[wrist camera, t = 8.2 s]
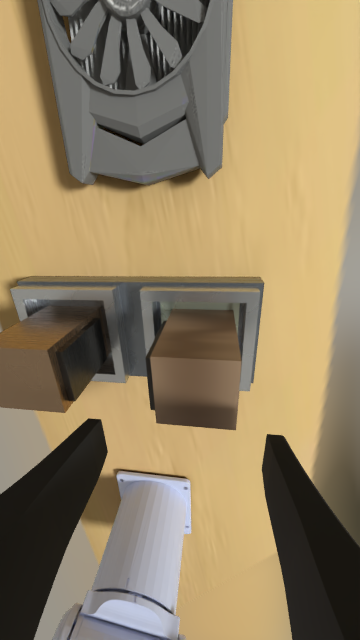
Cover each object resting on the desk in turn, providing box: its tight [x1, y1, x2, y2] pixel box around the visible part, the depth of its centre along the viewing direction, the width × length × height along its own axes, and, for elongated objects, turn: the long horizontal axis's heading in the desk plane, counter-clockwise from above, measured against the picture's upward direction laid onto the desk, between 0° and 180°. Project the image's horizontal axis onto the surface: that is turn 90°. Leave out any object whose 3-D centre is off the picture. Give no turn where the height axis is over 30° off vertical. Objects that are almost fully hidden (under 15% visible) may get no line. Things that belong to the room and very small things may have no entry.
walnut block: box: [145, 309, 242, 430], centre depth 14 cm, size 4×4×6 cm
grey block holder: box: [0, 276, 264, 413], centre depth 16 cm, size 8×17×8 cm, turn 92°
